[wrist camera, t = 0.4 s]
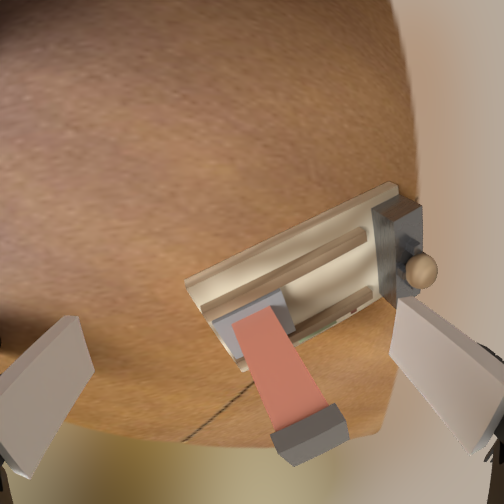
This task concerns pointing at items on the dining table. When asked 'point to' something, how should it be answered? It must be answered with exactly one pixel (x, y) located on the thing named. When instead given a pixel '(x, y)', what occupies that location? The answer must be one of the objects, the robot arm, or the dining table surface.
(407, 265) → the brown ball
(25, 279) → the dining table surface
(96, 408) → the dining table surface
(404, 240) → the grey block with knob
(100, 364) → the dining table surface
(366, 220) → the cream base plate
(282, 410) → the handle
